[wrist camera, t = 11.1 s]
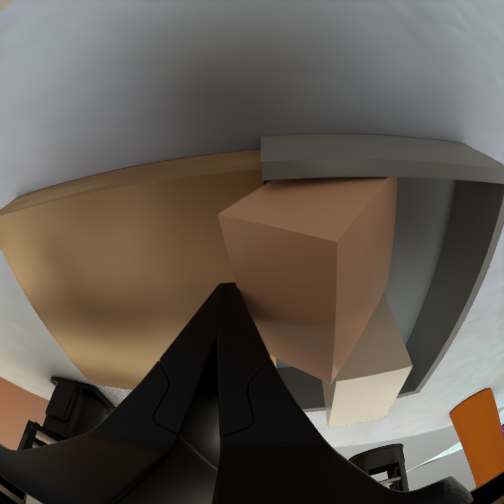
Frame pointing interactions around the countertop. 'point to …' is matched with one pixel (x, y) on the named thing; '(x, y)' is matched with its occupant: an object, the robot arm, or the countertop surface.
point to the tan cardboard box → (312, 263)
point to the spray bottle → (480, 435)
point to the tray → (409, 233)
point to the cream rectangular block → (369, 373)
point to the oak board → (126, 256)
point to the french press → (384, 465)
